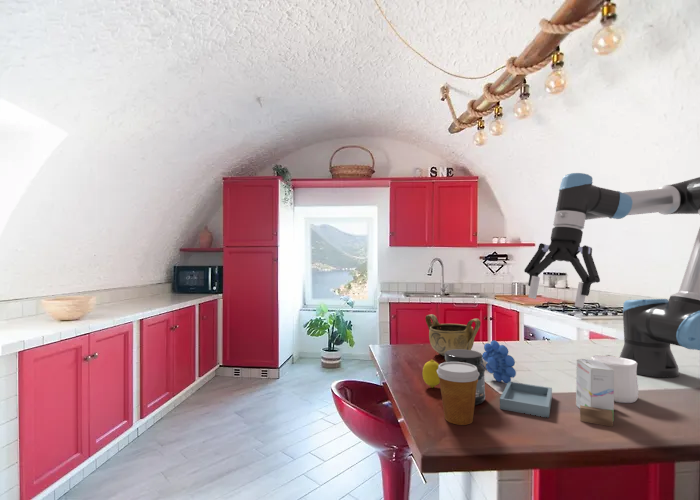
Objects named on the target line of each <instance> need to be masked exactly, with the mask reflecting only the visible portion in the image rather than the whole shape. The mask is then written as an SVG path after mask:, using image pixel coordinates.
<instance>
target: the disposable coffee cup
mask: <svg viewBox="0 0 700 500" xmlns="http://www.w3.org/2000/svg"><path fill="white" fill-rule="evenodd" d="M437 374H438V376H439V381H440V383H439V386H440V393H441V400H442V409H443V415H444V420H445V421H446V422H448V423H450V424H453V425H458V426H467V425H469V424H472V423H473V422H474V415H475V414H474V413H475V406H476V405H475V397H476V387H477V379H478V377H479V372H478V370H477V367H476V366H474V365H472V364H469V363H463V362H446V361H444V362H442V363H439V367H438V369H437Z"/></svg>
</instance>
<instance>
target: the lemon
mask: <svg viewBox="0 0 700 500" xmlns="http://www.w3.org/2000/svg"><path fill="white" fill-rule="evenodd" d="M439 365H440V363H438V362H437V361H435V360H434V359H430V360H429V361H427V362H425V364H424V365H423V366H422V367H423V368H422V379H423V381H424V383H425V384H426V385H428V386H429V387H430V388H432V389H434V388H435V387H436V386H438V385H440V381H439V376H438V374H437V369H438V367H439Z"/></svg>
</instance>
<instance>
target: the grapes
mask: <svg viewBox="0 0 700 500" xmlns="http://www.w3.org/2000/svg"><path fill="white" fill-rule="evenodd" d="M483 347H484V348H483V349H484V352H483V353H482V358H483V361H484V362H486V364H485V370H486V371H487V372H488V373H490V374H492V375H493V376H492V377H493V379H494V380H495V381H496V382H503V383H505V384H506V385H507V384H508V382H512V378H513V379H514V378H515V377H516V376H517V371H516V369H515V368H514V367H515V363H516V361H515V358H514V357H513V356H511V355H510V354H509V349H508V347H507V346H506V345H503V344H500V343H499V342H498V341H497V340H492V341H491V342H490V343H489V342H487V343H485V344H484V346H483Z"/></svg>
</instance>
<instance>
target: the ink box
mask: <svg viewBox="0 0 700 500" xmlns="http://www.w3.org/2000/svg"><path fill="white" fill-rule="evenodd" d="M575 374H576V377H575V379H576V383H575V384H576V385H575V386H576V387H575V391H576V392H575V398H576V399H575V406H577V408H579V409H580V405H581V406H588V407H594V408H600V409H606V410H612V413H613V422H614V421H615V420H614V419H615V418H614V417H615V415H614V414H615V413H614V411H615V410H614V409H615V407H614V406H615V405H614V404H615V401H614V370H613V369H611V368H609V367H608V366H606V365H605V364H603V363H602V362H600V361H598V360H592V359H587V358H585V359H584V358H577V359H576V373H575Z"/></svg>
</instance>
